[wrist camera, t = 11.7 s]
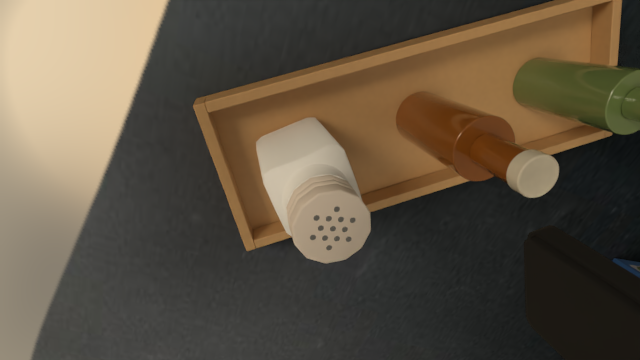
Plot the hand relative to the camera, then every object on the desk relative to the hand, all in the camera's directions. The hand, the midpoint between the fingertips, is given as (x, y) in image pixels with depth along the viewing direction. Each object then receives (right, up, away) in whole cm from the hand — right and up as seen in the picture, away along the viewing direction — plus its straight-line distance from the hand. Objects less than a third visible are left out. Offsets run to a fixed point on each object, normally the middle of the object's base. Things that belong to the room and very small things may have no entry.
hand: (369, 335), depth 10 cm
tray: (+5, +8, +15) cm, 18 cm away
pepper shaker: (-3, +6, +14) cm, 15 cm away
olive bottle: (+13, +10, +15) cm, 22 cm away
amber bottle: (+5, +8, +15) cm, 17 cm away
